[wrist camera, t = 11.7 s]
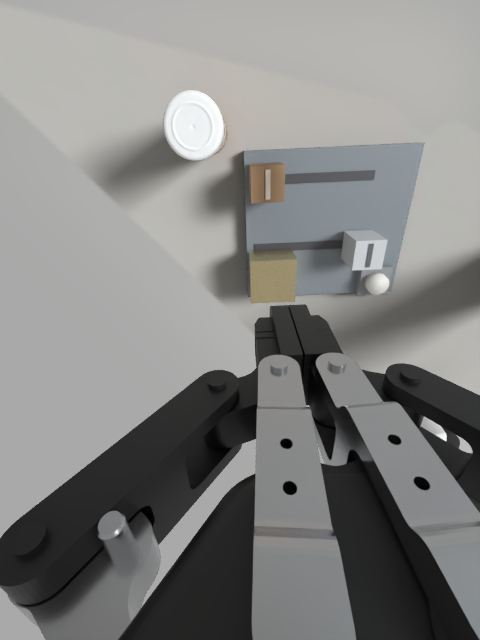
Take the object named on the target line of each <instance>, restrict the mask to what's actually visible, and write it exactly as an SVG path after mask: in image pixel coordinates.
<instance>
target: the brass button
mask: <svg viewBox="0 0 480 640" xmlns="http://www.w3.org/2000/svg"><path fill="white" fill-rule="evenodd" d="M296 268H297V259H296V257H295V255H294V253H293V251H292V250H272V251H249V274H250V297H251V303H269V302H293V301H295V287H296Z"/></svg>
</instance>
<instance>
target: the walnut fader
mask: <svg viewBox="0 0 480 640" xmlns="http://www.w3.org/2000/svg"><path fill="white" fill-rule="evenodd" d="M285 166H286V165H285V164H282V163H280V162H278V163H256V164H249V194H250V201H251V204H253V203H275V202H284V199H285Z"/></svg>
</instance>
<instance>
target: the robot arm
mask: <svg viewBox="0 0 480 640" xmlns="http://www.w3.org/2000/svg"><path fill="white" fill-rule="evenodd" d="M255 356H256V366H257V368H256V369H255V370H254V371H253V372H252V373H251V374H249V375H246V376H243V377H240V378H237V377H236V376H235V375H234V374H233V373H231V372H228V371H225V370H214V371H210V372H207V373H205V374H203V375H202V376H201V377H199V378H198V379H197V380H195V381H194V382H193V383H192V384H190V385H189V386H188V387H187V388H185V389H184V390H183V391H181V392H180V393H179V394H178V395H176V396H175V397H174V398H173V399H171V400H170V401H169V402H168V403H166V404H165V405H164V406H162V407H161V408H160V409H158V410H157V411H156V412H155V413H153V414H152V415H151V416H150V417H148V418H147V419H146V420H145V421H143V422H142V423H141V424H139V425H138V426H137V427H136V428H134V429H133V430H132V431H130V432H129V433H128V434H127V435H125V436H124V437H123V438H122V439H120V440H119V441H118V442H117V443H115V444H114V445H113V446H111V447H110V448H109V449H108V450H106V451H105V452H104V453H102V454H101V455H100V456H99V457H97V458H96V459H95V460H93V461H92V462H91V463H90V464H88V465H87V466H86V467H85V468H84V469H82V470H81V471H80V472H78V473H77V474H76V475H75V476H73V477H72V478H71V479H69V480H68V481H67V482H65V483H64V484H63V485H62V486H60V487H59V488H58V489H57V490H55V491H54V492H53V493H51V494H50V495H49V496H48V497H46V498H45V499H44V500H43V501H41V502H40V503H39V504H37V505H36V506H35V507H34V508H32V509H31V510H30V511H29V512H27V513H26V514H25V515H23V516H22V517H21V518H20V519H19V520H17V521H16V522H15V523H14V524H13V525H11V527H10V528H9V529H8V530H7V531H6V532H5V533H4V534H3V536H2V537H1V538H0V587H1V588H2V589H3V590H4V591H5V592H6V593H7V594H8V597H9V599H10V601H11V602H12V603H13V604H14V605H15V606H16V607H17V608H18V609H19V610H20V611H21V612H22V613H23V614H24V615H25V616H26V617H27V618H28V619H29V620H30V621H31V622H33V623H34V624H35V625H37V626H38V627H39V628H40V630H41V632H42V634H43V636H44V638H45V639H46V640H480V395H477V394H475V393H473V392H471V391H469V390H467V389H465V388H462V387H460V386H458V385H456V384H454V383H452V382H449V381H447V380H445V379H443V378H441V377H439V376H437V375H434V374H432V373H430V372H428V371H426V370H424V369H421V368H419V367H417V366H414V365H410V364H394V365H391V366H389V367H388V368H387V370H386V373H385V374H381V373H375V372H369V371H365V370H362V369H361V368H360V367H359V365H358V364H357V362H356V361H355V360H354V359H352V358H351V357H349V356H347V355H344V354H343V352H342V350H341V348H340V346H339V345H338V343H337V341H336V339H335V337H334V336H333V333H332V331H331V330H330V327H329V325H328V323H327V321H326V320H324V319H323V318H322V317H320V316H319V315H315V316H311V315H310V313H309V311H308V308H307V306H306V305H288V306H287V305H285V306H270V317H267V318H259V319H258V320H257V322H256V323H255ZM306 405H309V406H310V407H306ZM424 417H426V418H428V419H429V420H431V421H433V422H435V423H436V424H438V425H440V426H442V427H443V428H445V429H447V430H449V431H451V432H452V433H454V434H456V435H458V436H459V437H461V438H463V439H464V440H465V441H467V442H468V443H469V445H470V446H471V448H472V450H473V454H471V453H466V452H463V451H462V450H460V449H458V448H456V447H455V446H453V445H451V444H450V443H448V442H446V441H445V440H443V439H441V438H439V437H438V436H436V435H434V434H433V433H431V432H429V431H428V430H426V429H424V428H423V427H421V423H422V420H423V418H424ZM254 439H256V473H255V474H254V475H251V476H249V477H247V478H245V479H244V480H242V481H241V482H239V483H238V484H236V485H235V486H234V487H233V488H231V489H230V491H229V492H228V493H227V494H226V495H225V496H224V497H223V498H222V500H221V501H220V502H219V504H218V505H217V506H216V508H215V509H214V511H213V512H212V513H211V515H210V516H209V517H208V519H207V520H206V521H205V523H204V524H203V525H202V527H201V528H200V529H199V531H198V532H197V534H196V535H195V536H194V537H193V539H192V540H191V542H190V543H189V544H188V546H187V547H186V548H185V550H184V551H183V552H182V554H181V555H180V556H179V558H178V559H177V561H176V562H175V563H174V565H173V566H172V567H171V569H170V570H169V571H168V573H167V574H166V576H165V577H164V578H163V579H162V581H161V582H160V584H159V585H158V586H157V588H156V589H155V590H154V592H153V593H152V594H151V596H150V597H149V598H148V600H147V601H146V602H145V604H144V605H143V606H142V603H143V600H144V597H145V595H146V593H147V591H148V590H149V588H150V586H151V585H152V583H153V581H154V580H155V578H156V575H157V574H158V571H159V567H160V561H161V560H160V559H161V555H160V549H159V546H158V545H159V544H160V543H161V541H162V540H163V539H164V538H165V537H166V535H167V534H168V533H169V532H170V531H171V530H172V529H173V527H174V526H175V525H176V524H177V523H178V522H179V521H180V519H181V518H182V517H183V516H184V515H185V513H186V512H187V511H188V510H189V509H190V507H192V505H193V504H194V503H195V502H196V501H197V499H198V498H199V497H200V496H201V495H202V494H203V493H204V491H205V490H206V489H207V488H208V487H209V486H210V484H211V483H212V482H213V481H214V479H215V478H216V477H217V476H218V475H219V474H220V473H221V472H222V470H223V469H224V468H225V467H226V466H227V465H228V463H229V462H230V461H231V460H232V459H233V458H234V456H235V455H236V454H237V453H238V452H239V450H240V449H241V446H242V443H245V442H248V441H251V440H254ZM317 444H318V446H317ZM318 447H319V449H320V452H321V455H322V458H323V460H324V463H325V464H322V463H320V457H319V452H318ZM141 606H142V608H141Z"/></svg>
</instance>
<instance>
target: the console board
mask: <svg viewBox="0 0 480 640" xmlns="http://www.w3.org/2000/svg"><path fill="white" fill-rule="evenodd" d="M423 148H424V143H403V144H382V145H360V146H339V147H318V148H296V149H275V150H254V151H244V182H245V215H246V248H247V280H248V297H250V274H249V251H272V250H292V251H293V253H294V255H295V257H296V259H297V268H296V287H295V295H312V294H336V293H356V294H357V296H364V295H387V291H391V289H392V284H393V280H394V275H395V271H396V267H397V262H398V258H399V253H400V249H401V245H402V240H403V236H404V231H405V227H406V223H407V218H408V214H409V209H410V205H411V201H412V196H413V192H414V187H415V183H416V179H417V174H418V170H419V165H420V161H421V156H422V152H423ZM278 162H280V163H282V164H285V165H286V166H285V199H284V202H275V203H253V204H251V201H250V194H249V164H256V163H278ZM358 230H373V231H375V232H376V233H378V234H380V235H381V236H383V237H384V238H386V239H387V240H388V241H387V246H386V251H385V256H384V261H383V266H382V269H376V270H353V271H352V270H351V269H350V268H349V267H348V266H347V264H346V263H345V262H344V261H343V260H342V259H341V252H342V245H343V237H344V231H358Z"/></svg>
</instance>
